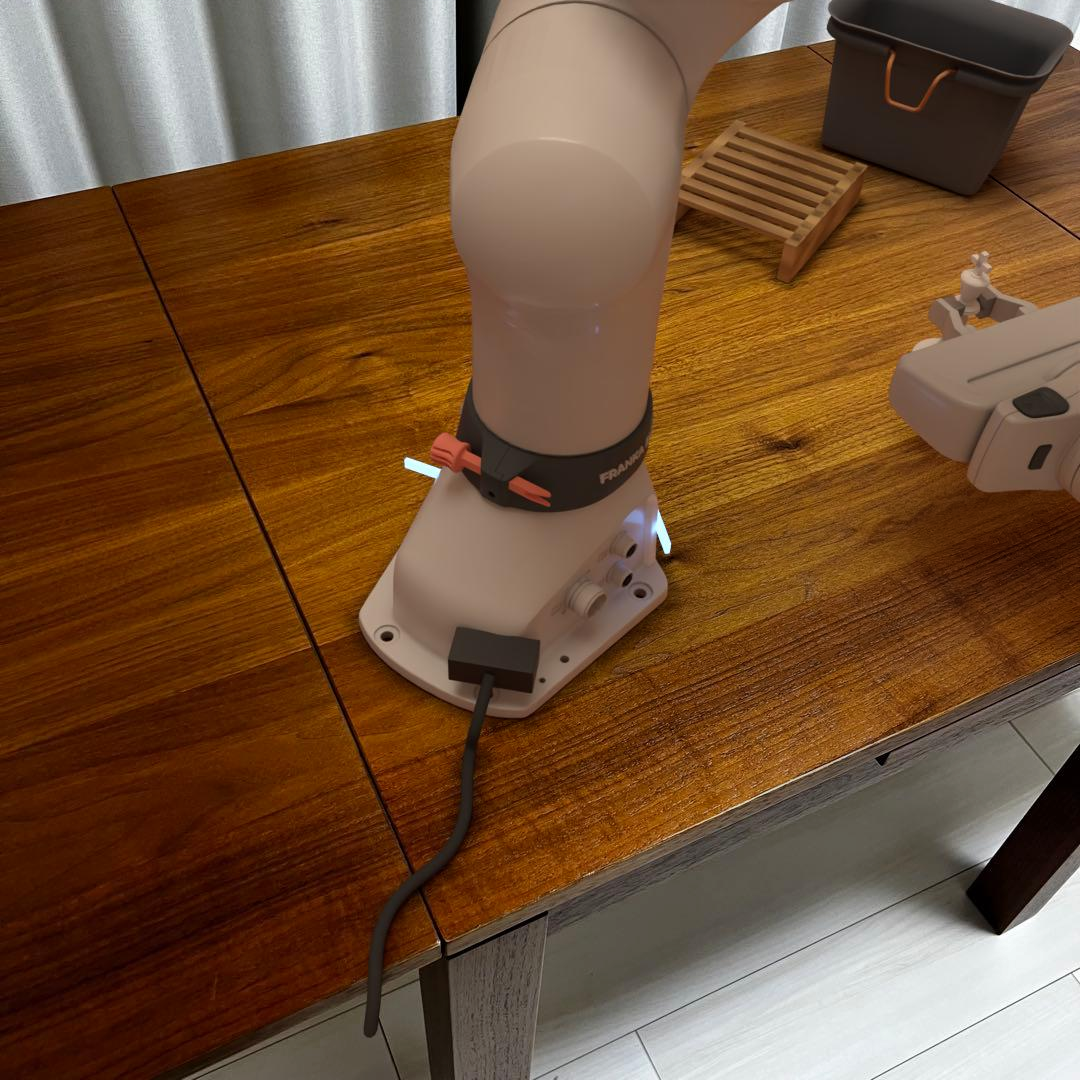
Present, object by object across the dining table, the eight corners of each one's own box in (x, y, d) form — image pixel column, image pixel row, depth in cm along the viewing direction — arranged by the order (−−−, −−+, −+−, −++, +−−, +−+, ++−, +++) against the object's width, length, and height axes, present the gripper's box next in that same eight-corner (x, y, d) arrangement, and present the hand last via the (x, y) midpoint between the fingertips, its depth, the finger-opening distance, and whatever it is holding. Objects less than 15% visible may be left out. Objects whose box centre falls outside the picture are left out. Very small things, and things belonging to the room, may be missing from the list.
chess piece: (935, 394, 87) (979, 281, 79) (895, 354, 90) (934, 241, 82) (988, 377, 88) (1037, 265, 81) (947, 338, 91) (990, 226, 84)
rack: (788, 284, 107) (797, 246, 104) (652, 230, 112) (657, 193, 109) (858, 202, 116) (868, 165, 113) (730, 155, 121) (736, 119, 118)
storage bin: (1031, 159, 122) (1084, 22, 111) (983, 231, 113) (1036, 90, 103) (838, 97, 129) (870, -38, 118) (779, 161, 120) (808, 22, 110)
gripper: (1230, 340, 79) (1080, 228, 86) (992, 428, 72) (854, 298, 80) (1187, 411, 83) (1049, 298, 91) (960, 500, 77) (832, 370, 84)
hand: (956, 299), depth 85 cm, fingers closed on chess piece
